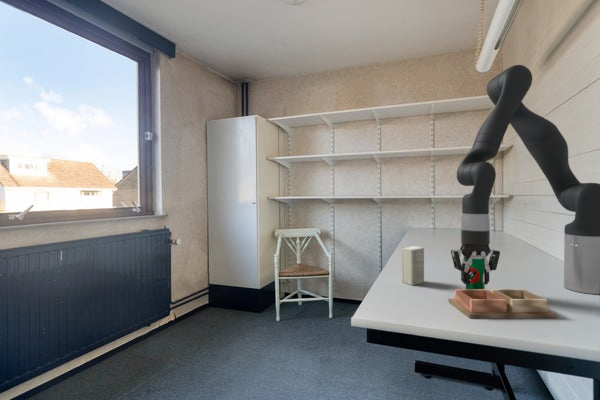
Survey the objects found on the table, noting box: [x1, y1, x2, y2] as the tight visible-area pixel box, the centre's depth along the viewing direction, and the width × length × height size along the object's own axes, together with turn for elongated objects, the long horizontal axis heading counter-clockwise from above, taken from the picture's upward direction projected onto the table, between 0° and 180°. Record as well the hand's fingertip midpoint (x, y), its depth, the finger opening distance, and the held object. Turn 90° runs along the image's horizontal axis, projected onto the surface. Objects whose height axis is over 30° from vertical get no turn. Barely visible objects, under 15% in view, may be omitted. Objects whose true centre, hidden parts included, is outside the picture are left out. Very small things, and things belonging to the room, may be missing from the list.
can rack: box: [447, 288, 557, 319], centre depth 80 cm, size 21×11×4 cm, turn 89°
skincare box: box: [401, 245, 425, 286], centre depth 104 cm, size 6×4×12 cm
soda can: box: [465, 255, 486, 289], centre depth 93 cm, size 5×5×12 cm
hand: (475, 283), depth 93 cm, fingers closed on soda can, 5 cm apart
